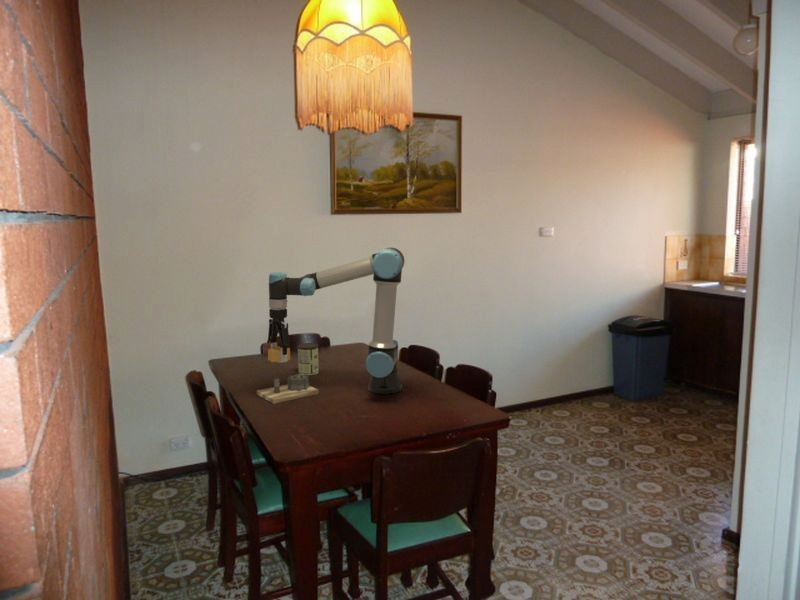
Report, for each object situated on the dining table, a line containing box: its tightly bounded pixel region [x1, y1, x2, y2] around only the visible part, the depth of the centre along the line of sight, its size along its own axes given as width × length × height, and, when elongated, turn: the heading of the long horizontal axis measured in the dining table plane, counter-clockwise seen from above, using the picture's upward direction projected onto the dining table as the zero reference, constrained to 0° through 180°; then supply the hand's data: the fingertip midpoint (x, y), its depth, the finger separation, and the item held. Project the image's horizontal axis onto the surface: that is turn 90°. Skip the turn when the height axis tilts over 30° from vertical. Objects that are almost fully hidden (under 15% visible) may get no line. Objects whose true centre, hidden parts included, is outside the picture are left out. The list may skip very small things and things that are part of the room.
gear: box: [267, 345, 291, 363], centre depth 252 cm, size 9×9×5 cm
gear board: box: [256, 373, 320, 405], centre depth 255 cm, size 16×22×8 cm
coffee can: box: [297, 342, 320, 376], centre depth 289 cm, size 10×10×14 cm
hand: (278, 359), depth 252 cm, fingers closed on gear, 9 cm apart
